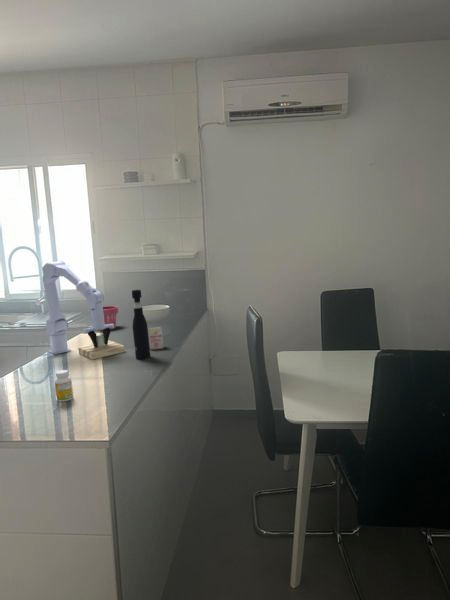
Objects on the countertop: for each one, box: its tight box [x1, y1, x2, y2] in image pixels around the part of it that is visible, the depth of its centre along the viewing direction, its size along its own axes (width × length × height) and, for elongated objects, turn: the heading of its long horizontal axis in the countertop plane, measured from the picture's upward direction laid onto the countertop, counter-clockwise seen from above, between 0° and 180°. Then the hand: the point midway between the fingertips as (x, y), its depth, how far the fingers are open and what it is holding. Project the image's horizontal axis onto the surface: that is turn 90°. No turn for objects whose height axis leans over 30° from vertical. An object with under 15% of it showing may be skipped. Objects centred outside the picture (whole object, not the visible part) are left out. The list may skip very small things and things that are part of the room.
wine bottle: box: [131, 289, 152, 361], centre depth 204 cm, size 6×6×30 cm
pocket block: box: [77, 340, 125, 360], centre depth 220 cm, size 16×16×3 cm
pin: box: [96, 334, 105, 349], centre depth 220 cm, size 4×4×8 cm
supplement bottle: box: [54, 369, 74, 403], centre depth 159 cm, size 5×5×10 cm
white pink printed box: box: [148, 326, 165, 351], centre depth 220 cm, size 4×7×10 cm, turn 98°
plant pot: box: [103, 305, 119, 331], centre depth 276 cm, size 14×14×13 cm
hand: (100, 345), depth 220 cm, fingers open, 5 cm apart
